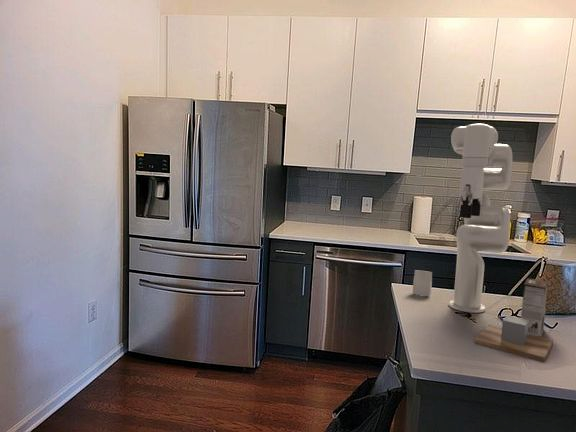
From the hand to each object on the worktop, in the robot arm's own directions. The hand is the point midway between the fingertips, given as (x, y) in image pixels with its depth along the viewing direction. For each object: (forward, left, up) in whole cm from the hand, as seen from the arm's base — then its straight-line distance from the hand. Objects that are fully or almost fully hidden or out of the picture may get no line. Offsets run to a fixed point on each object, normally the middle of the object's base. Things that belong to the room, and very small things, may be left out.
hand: (470, 216), depth 138 cm
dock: (+5, +17, -36) cm, 40 cm away
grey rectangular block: (-24, -23, -37) cm, 49 cm away
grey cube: (+5, +17, -35) cm, 39 cm away
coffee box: (-11, +19, -36) cm, 43 cm away
